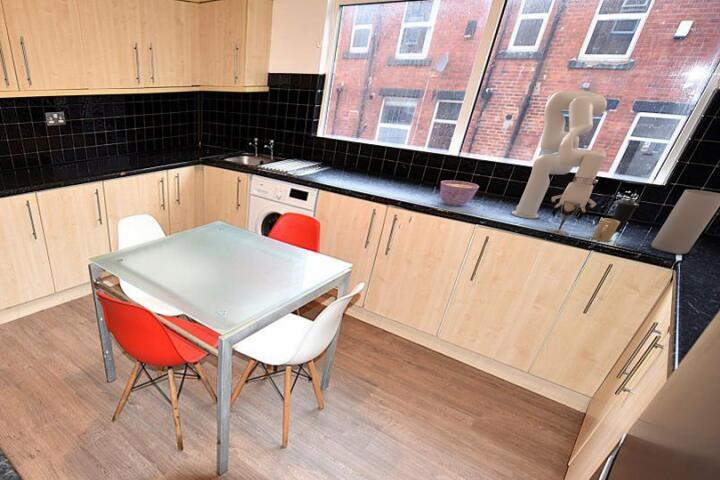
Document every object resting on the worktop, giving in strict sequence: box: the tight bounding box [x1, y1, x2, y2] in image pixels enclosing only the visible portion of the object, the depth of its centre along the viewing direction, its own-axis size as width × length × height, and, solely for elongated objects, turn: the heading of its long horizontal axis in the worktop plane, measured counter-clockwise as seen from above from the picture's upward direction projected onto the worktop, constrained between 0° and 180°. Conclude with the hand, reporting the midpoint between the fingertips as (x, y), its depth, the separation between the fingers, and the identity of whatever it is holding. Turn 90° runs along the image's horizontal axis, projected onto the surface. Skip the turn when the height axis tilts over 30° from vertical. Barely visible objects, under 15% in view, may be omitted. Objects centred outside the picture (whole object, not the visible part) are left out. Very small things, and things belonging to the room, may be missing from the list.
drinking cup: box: [611, 189, 640, 233], centre depth 209 cm, size 8×8×20 cm
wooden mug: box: [591, 217, 620, 242], centre depth 198 cm, size 10×7×9 cm
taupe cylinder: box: [650, 189, 720, 255], centre depth 184 cm, size 12×12×25 cm
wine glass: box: [548, 201, 581, 236], centre depth 204 cm, size 8×8×15 cm
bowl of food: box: [439, 179, 480, 207], centre depth 246 cm, size 20×20×12 cm
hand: (565, 217), depth 204 cm, fingers open, 9 cm apart
